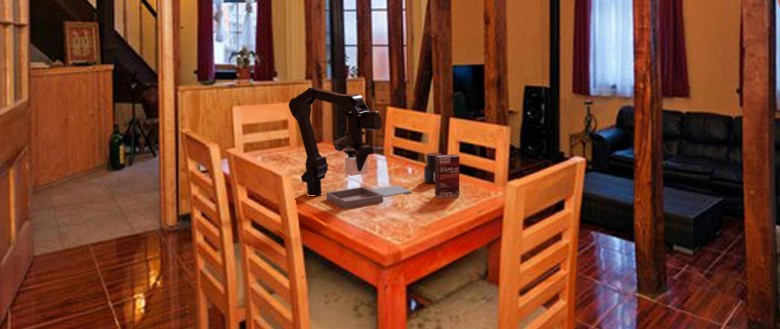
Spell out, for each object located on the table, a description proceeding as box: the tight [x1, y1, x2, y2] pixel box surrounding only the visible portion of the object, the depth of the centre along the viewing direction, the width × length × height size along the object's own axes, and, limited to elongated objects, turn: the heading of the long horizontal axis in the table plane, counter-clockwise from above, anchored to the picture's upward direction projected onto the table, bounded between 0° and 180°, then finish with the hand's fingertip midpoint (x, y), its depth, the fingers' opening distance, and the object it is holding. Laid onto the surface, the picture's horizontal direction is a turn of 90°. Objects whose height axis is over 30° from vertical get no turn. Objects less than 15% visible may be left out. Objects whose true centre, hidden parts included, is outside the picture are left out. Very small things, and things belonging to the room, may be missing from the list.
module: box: [344, 157, 369, 177], centre depth 208 cm, size 4×7×6 cm, turn 119°
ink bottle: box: [423, 152, 443, 185], centre depth 235 cm, size 10×9×12 cm
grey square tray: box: [325, 186, 384, 210], centre depth 209 cm, size 16×16×3 cm
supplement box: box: [434, 153, 460, 199], centre depth 212 cm, size 9×5×16 cm, turn 105°
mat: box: [370, 184, 412, 198], centre depth 221 cm, size 12×12×1 cm
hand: (356, 170), depth 208 cm, fingers closed on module, 4 cm apart
